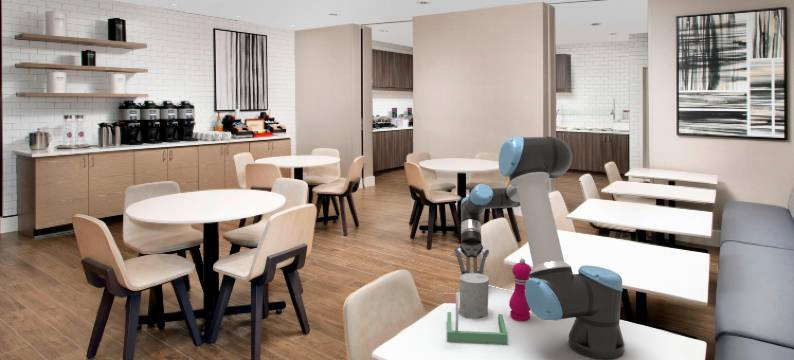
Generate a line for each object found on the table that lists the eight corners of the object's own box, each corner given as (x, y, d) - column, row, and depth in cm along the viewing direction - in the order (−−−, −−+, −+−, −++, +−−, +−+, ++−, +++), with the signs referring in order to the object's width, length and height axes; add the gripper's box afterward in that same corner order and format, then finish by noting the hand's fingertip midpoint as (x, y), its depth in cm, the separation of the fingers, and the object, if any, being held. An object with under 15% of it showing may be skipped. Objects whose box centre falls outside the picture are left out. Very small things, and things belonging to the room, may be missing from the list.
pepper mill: (507, 312, 171) (510, 254, 168) (529, 313, 170) (532, 255, 167) (509, 321, 164) (511, 261, 161) (532, 322, 163) (535, 262, 160)
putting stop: (502, 323, 163) (503, 278, 161) (507, 344, 149) (509, 295, 147) (442, 320, 165) (443, 276, 162) (442, 341, 151) (443, 293, 149)
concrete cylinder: (487, 320, 165) (488, 284, 163) (457, 317, 167) (458, 281, 165) (488, 308, 175) (489, 273, 172) (460, 306, 176) (460, 271, 174)
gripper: (487, 239, 196) (490, 297, 183) (453, 238, 197) (453, 296, 184) (489, 229, 190) (491, 289, 176) (454, 228, 191) (453, 287, 178)
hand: (472, 292), depth 180 cm, fingers closed
